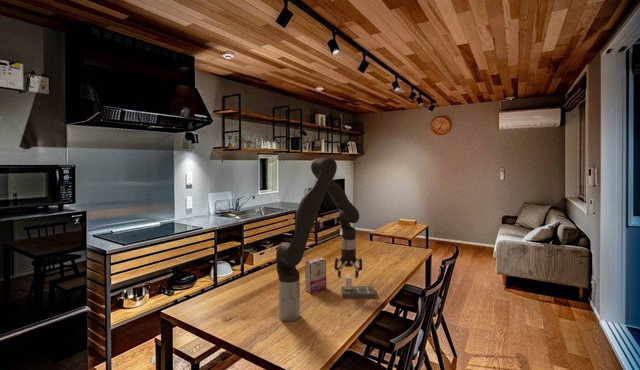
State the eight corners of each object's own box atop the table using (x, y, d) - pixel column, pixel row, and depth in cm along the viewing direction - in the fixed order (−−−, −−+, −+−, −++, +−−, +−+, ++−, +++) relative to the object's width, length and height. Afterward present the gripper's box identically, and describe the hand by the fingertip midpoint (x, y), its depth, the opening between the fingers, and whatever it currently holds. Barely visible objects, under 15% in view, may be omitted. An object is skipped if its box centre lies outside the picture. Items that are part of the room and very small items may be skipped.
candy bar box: (320, 285, 185) (320, 256, 183) (326, 288, 181) (326, 258, 179) (304, 290, 178) (304, 260, 176) (310, 293, 174) (310, 263, 172)
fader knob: (351, 291, 171) (351, 278, 171) (345, 291, 171) (346, 278, 171) (350, 288, 175) (350, 275, 175) (345, 288, 175) (345, 275, 175)
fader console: (375, 297, 169) (375, 293, 169) (342, 297, 169) (342, 293, 168) (372, 289, 179) (372, 286, 179) (340, 290, 178) (340, 286, 178)
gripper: (335, 249, 168) (334, 280, 169) (363, 249, 168) (362, 280, 169) (334, 245, 175) (333, 275, 176) (361, 245, 175) (360, 275, 177)
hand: (348, 277), depth 173 cm, fingers open, 8 cm apart
